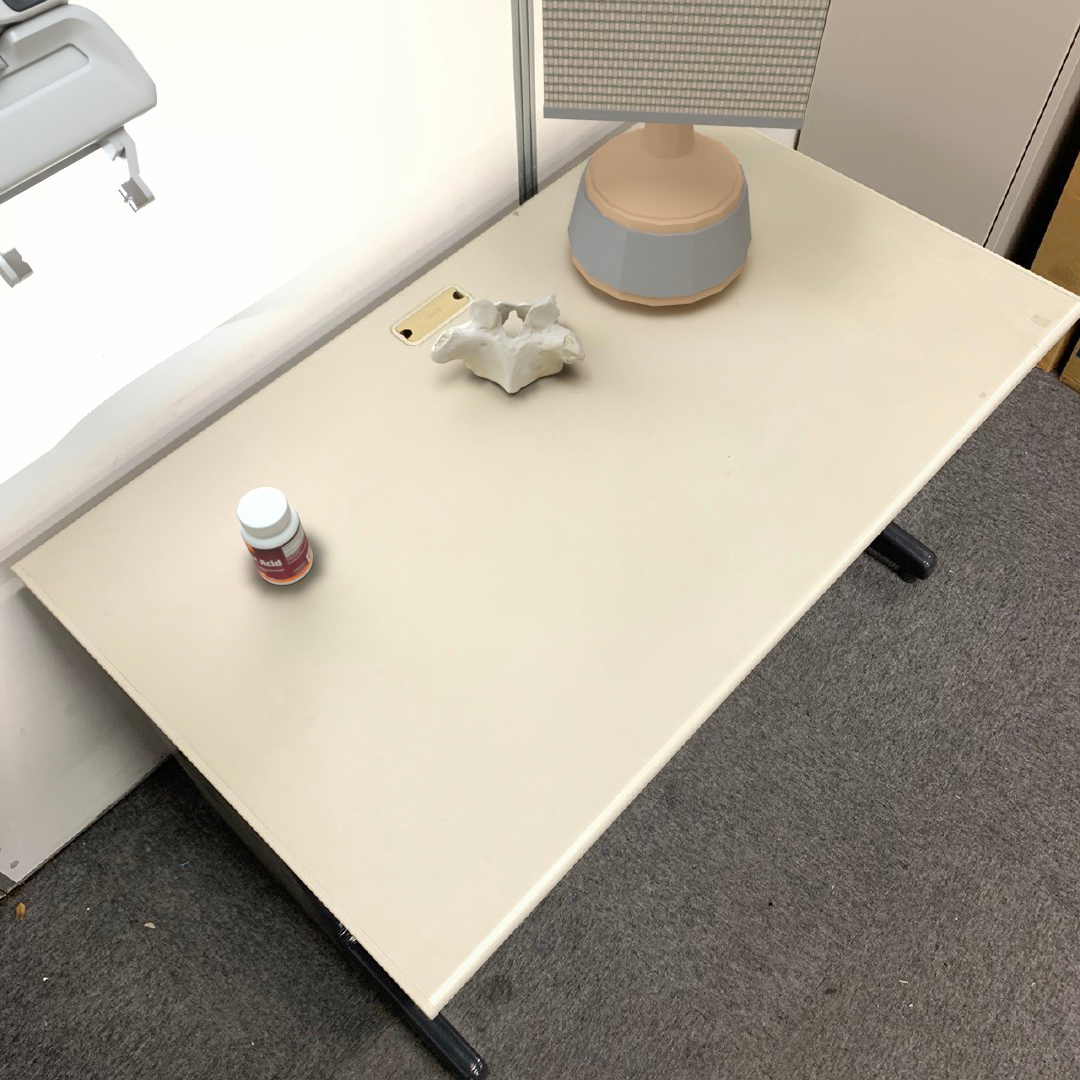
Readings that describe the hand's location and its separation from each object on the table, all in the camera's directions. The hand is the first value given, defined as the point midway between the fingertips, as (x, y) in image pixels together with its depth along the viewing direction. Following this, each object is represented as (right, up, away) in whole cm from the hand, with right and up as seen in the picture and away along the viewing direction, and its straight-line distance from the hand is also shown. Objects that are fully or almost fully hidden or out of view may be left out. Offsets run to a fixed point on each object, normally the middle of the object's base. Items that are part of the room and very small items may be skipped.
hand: (86, 243), depth 65 cm
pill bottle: (+8, -22, +21) cm, 31 cm away
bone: (+28, -3, +32) cm, 43 cm away
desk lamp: (+42, +10, +41) cm, 60 cm away
